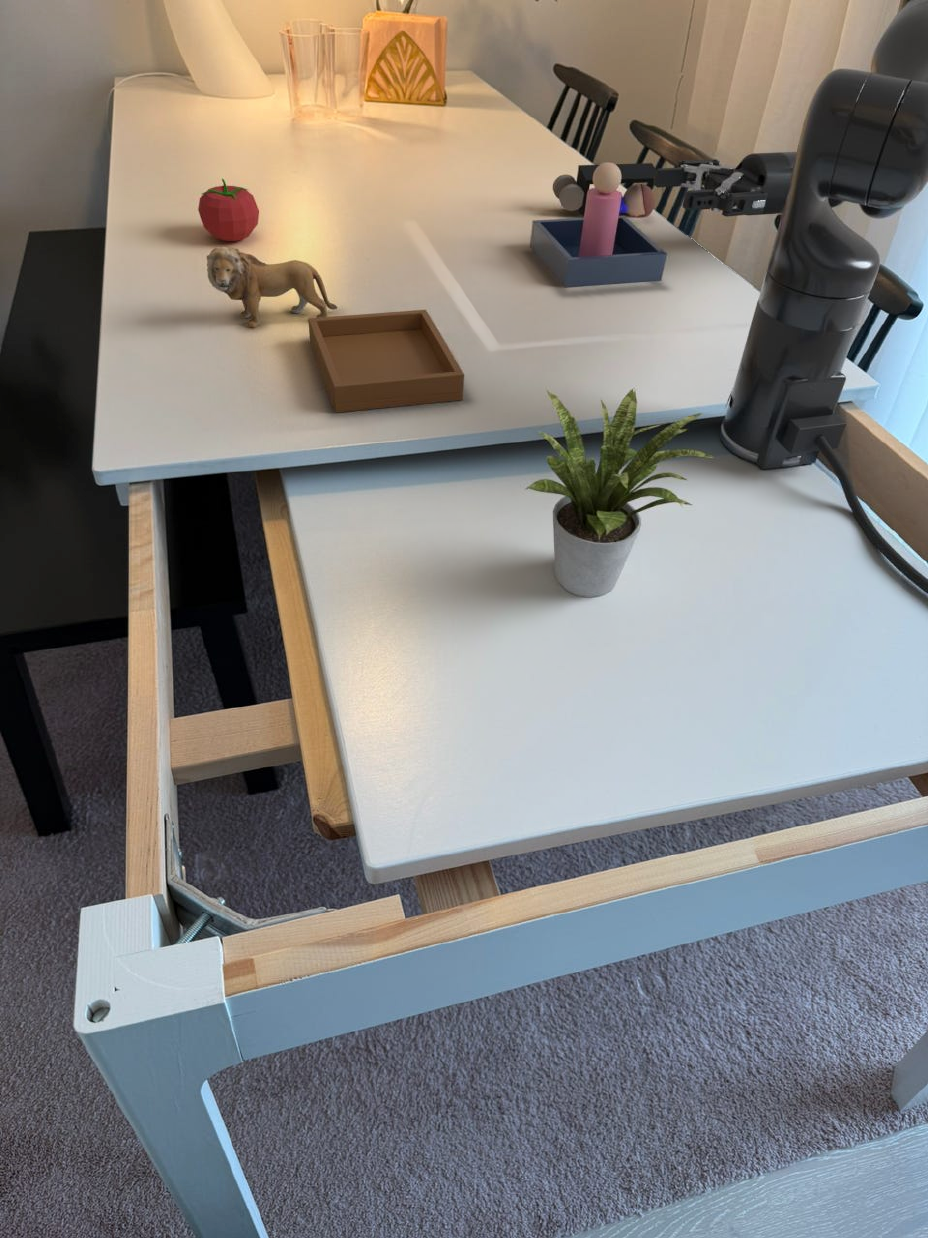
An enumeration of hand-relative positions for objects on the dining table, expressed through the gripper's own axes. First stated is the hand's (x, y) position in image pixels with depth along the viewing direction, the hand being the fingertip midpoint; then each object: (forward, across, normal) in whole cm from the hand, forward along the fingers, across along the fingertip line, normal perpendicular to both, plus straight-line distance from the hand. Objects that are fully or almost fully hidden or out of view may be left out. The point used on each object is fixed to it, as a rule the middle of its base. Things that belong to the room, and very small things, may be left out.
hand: (670, 189), depth 120 cm
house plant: (+35, +60, +10) cm, 71 cm away
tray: (+44, +21, +10) cm, 49 cm away
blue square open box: (+9, 0, +10) cm, 14 cm away
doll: (+9, 0, +9) cm, 13 cm away
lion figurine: (+53, +7, +10) cm, 55 cm away
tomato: (+55, -19, +10) cm, 59 cm away
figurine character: (0, -18, +10) cm, 21 cm away
